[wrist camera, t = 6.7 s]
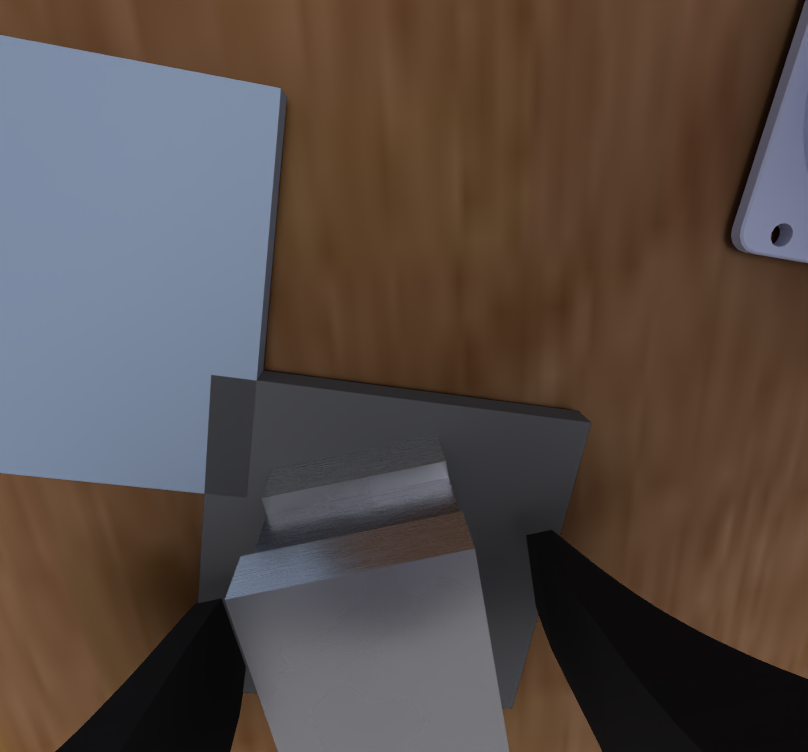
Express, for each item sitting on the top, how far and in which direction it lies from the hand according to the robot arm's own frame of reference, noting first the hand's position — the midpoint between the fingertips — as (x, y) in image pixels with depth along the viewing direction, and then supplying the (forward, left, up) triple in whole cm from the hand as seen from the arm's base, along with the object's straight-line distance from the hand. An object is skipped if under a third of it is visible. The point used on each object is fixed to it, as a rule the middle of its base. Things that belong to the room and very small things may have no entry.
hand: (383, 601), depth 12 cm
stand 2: (0, 0, -2) cm, 2 cm away
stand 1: (+8, -6, -2) cm, 10 cm away
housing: (0, 0, -1) cm, 1 cm away
